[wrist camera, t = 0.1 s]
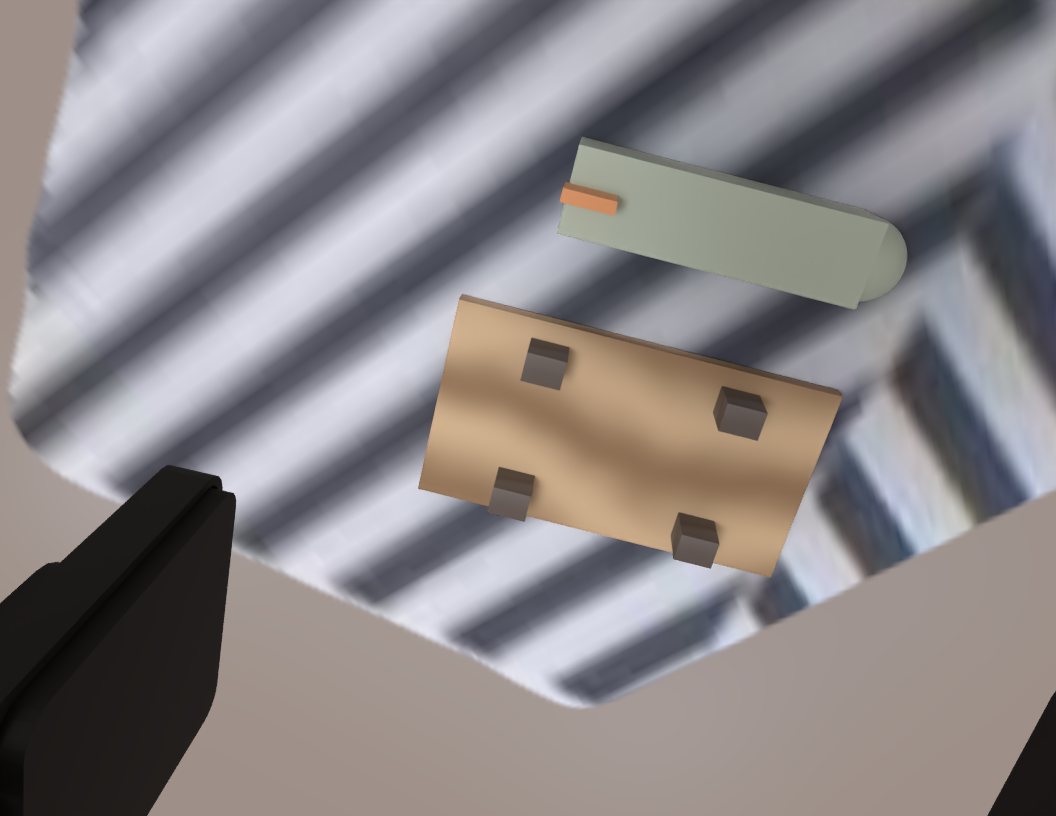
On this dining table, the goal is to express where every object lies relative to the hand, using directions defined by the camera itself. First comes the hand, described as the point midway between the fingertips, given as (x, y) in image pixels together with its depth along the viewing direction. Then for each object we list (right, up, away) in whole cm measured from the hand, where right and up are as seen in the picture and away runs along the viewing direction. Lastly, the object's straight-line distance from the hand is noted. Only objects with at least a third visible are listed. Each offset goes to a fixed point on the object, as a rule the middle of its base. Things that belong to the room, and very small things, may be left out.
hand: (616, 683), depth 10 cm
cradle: (+4, +1, +38) cm, 39 cm away
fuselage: (+8, +12, +34) cm, 37 cm away
